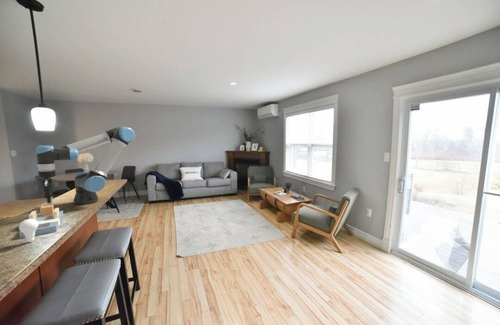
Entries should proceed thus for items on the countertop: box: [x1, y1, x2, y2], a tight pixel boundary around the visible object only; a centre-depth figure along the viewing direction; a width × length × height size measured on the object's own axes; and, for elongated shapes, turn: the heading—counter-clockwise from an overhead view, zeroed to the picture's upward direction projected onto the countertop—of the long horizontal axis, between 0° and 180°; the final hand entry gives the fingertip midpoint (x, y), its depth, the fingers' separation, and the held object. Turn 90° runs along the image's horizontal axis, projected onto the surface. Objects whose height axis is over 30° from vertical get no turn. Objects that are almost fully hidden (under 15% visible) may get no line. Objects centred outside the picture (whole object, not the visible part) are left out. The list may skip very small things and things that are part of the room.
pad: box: [37, 218, 61, 228], centre depth 112 cm, size 6×13×3 cm, turn 127°
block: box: [39, 204, 55, 217], centre depth 122 cm, size 5×5×5 cm
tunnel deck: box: [18, 207, 64, 239], centre depth 114 cm, size 28×13×7 cm, turn 37°
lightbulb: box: [18, 218, 38, 243], centre depth 95 cm, size 6×6×11 cm
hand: (49, 207), depth 130 cm, fingers closed
